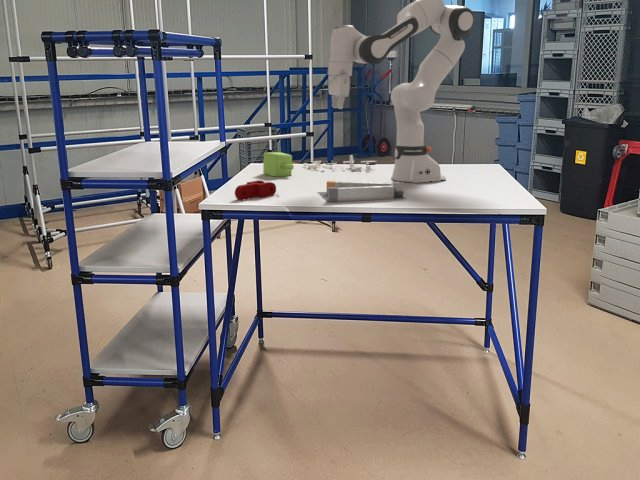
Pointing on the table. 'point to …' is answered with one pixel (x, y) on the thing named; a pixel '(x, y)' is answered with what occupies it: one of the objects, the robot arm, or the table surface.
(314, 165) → the miniature set
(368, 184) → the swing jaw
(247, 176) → the table surface
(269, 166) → the gearbox
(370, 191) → the block
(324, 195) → the mat
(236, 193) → the mechanical linkage
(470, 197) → the table surface
